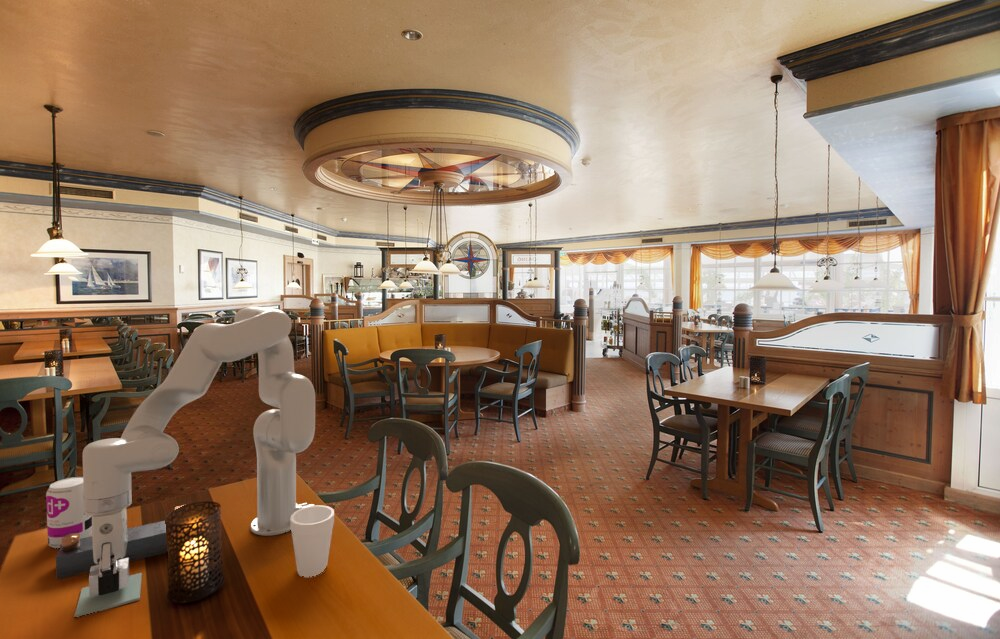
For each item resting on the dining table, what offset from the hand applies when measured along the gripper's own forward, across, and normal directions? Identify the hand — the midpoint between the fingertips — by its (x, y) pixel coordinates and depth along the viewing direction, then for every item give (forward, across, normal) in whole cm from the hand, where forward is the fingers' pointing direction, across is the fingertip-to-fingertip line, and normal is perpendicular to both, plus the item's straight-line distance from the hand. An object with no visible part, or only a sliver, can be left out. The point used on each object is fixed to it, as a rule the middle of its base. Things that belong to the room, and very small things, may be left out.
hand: (110, 584), depth 97 cm
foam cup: (+2, -13, -37) cm, 39 cm away
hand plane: (+2, +16, -2) cm, 16 cm away
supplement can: (+2, +31, +10) cm, 33 cm away
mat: (+2, 0, 0) cm, 2 cm away
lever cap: (0, 0, 0) cm, 0 cm away
